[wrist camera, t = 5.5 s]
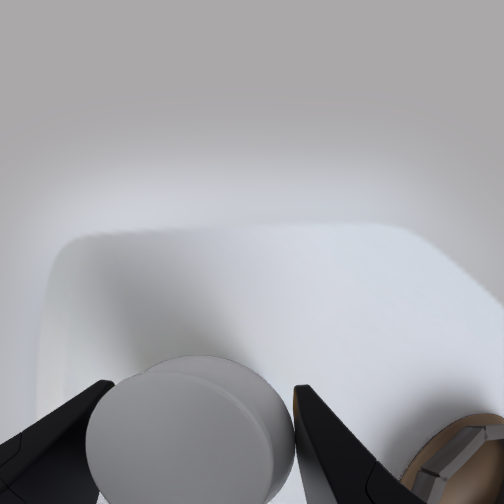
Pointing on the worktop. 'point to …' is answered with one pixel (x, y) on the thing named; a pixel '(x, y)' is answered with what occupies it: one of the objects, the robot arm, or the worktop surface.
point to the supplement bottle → (191, 436)
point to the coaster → (461, 463)
